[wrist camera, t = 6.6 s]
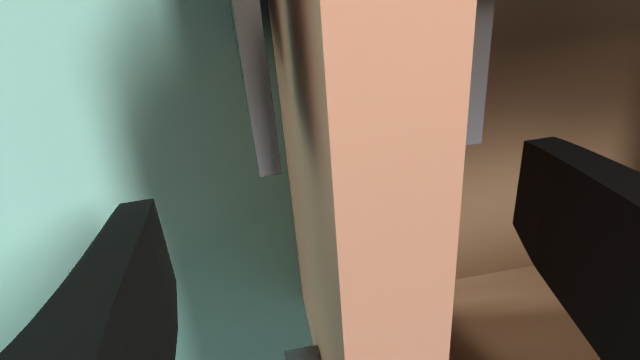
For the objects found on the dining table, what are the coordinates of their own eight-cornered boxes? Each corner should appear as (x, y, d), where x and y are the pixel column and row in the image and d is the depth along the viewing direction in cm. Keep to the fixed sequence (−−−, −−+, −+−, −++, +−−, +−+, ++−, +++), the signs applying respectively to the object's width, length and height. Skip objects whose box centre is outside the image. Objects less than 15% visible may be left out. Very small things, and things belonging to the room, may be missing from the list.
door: (355, 288, 18) (435, 528, 12) (275, 302, 17) (317, 556, 12) (335, -125, 12) (480, -45, 6) (212, -113, 11) (233, -14, 5)
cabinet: (684, 242, 19) (859, 401, 14) (278, 315, 17) (311, 521, 13) (871, -285, 12) (1379, -345, 7) (194, -232, 10) (195, -258, 5)
